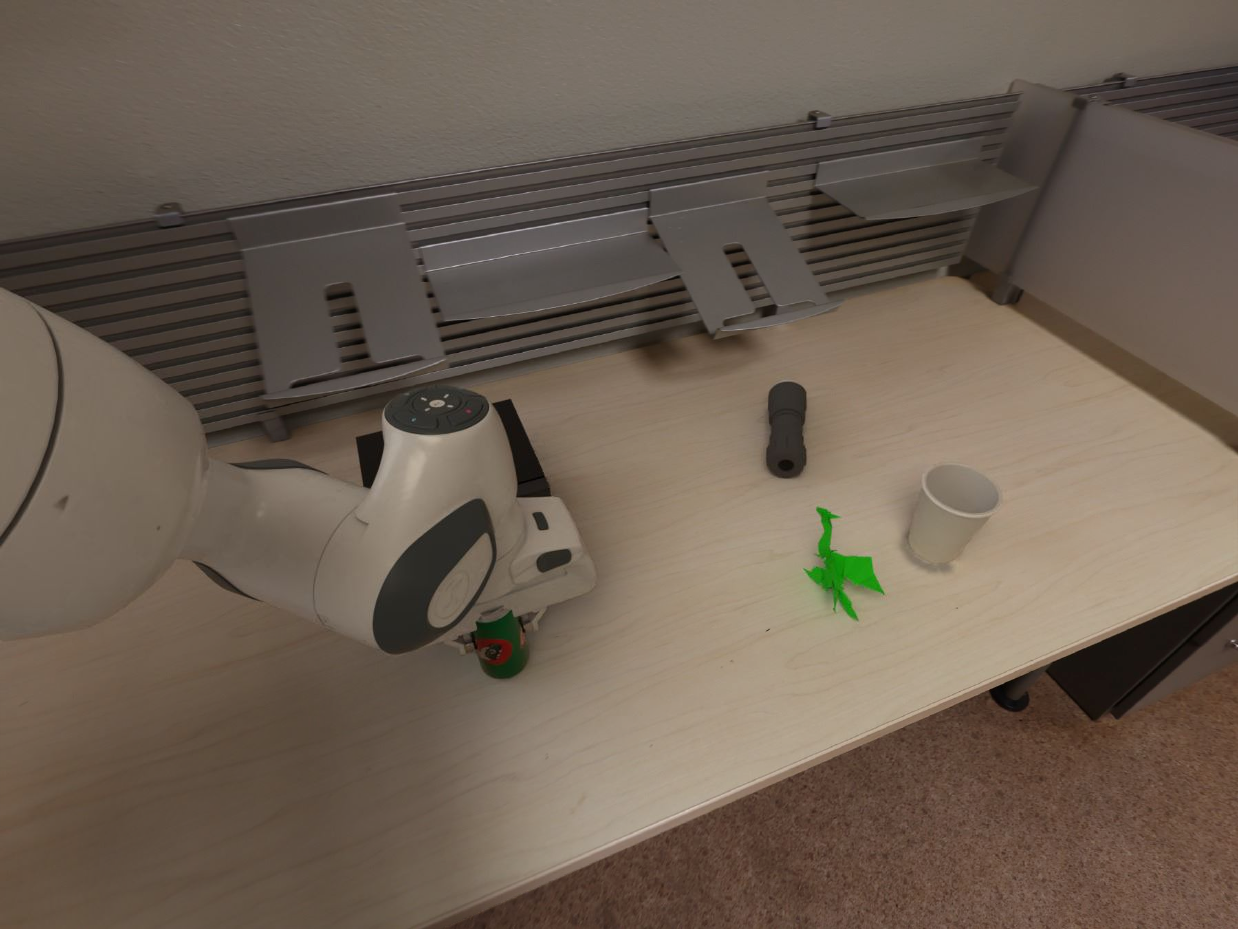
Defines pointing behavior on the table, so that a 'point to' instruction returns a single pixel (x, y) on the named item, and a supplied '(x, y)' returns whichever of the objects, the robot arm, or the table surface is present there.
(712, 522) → the table surface
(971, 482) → the dixie cup
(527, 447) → the oven
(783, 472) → the flashlight
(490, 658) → the soda can
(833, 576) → the figurine
